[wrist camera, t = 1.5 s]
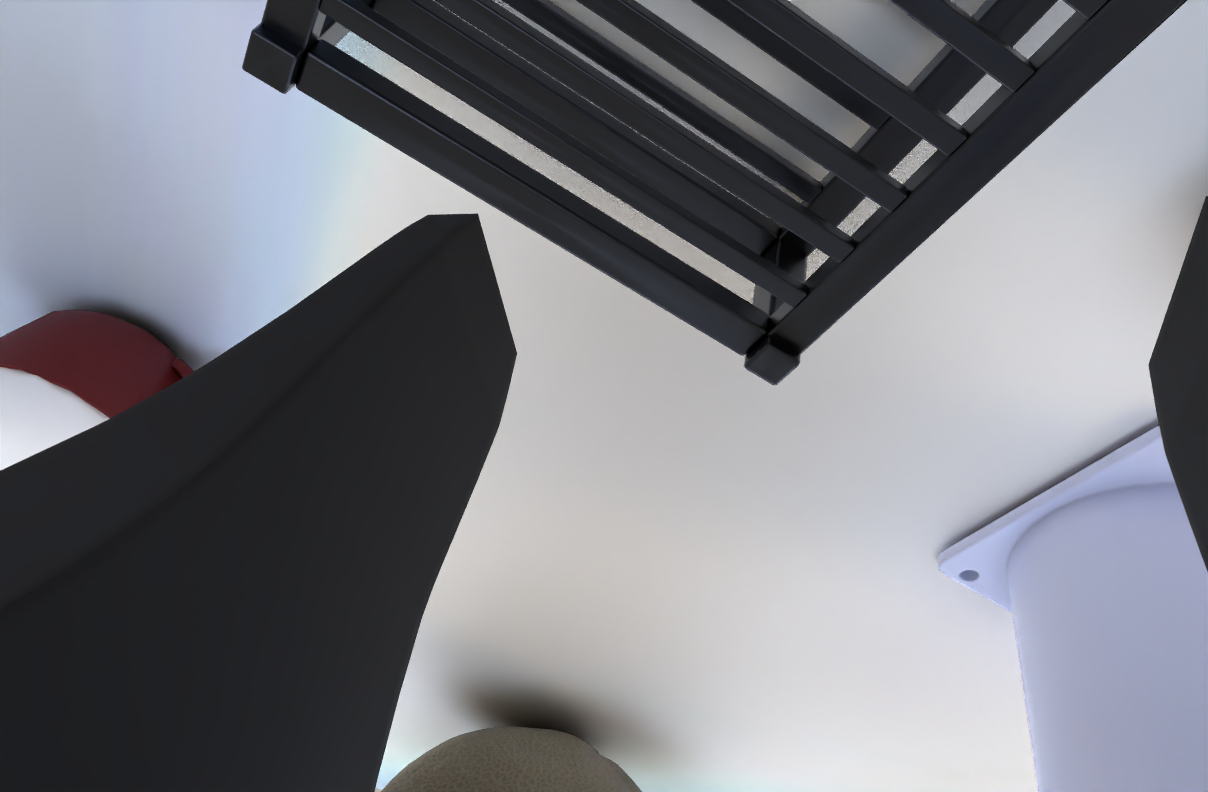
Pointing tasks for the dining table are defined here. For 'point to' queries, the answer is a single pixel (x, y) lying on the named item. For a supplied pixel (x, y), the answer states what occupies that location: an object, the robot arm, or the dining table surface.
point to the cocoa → (75, 377)
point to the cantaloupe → (512, 765)
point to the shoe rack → (707, 134)
